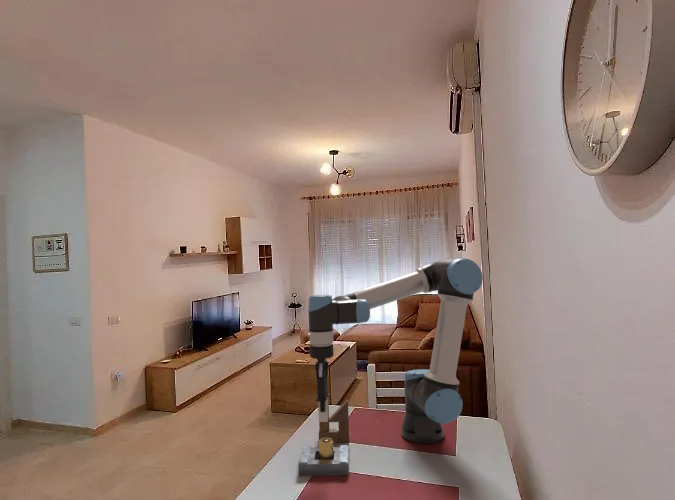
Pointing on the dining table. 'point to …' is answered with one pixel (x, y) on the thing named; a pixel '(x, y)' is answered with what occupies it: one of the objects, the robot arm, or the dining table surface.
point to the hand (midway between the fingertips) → (323, 419)
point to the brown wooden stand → (343, 420)
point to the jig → (324, 462)
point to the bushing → (326, 449)
